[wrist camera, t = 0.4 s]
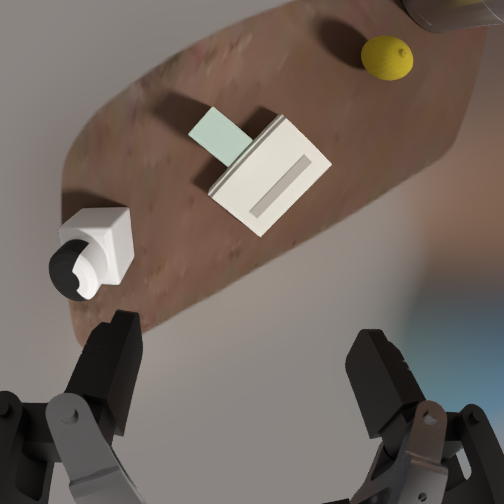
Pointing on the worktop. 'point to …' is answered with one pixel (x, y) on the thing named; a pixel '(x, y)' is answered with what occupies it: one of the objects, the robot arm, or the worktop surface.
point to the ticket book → (269, 175)
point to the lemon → (386, 57)
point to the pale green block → (220, 136)
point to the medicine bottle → (92, 251)
